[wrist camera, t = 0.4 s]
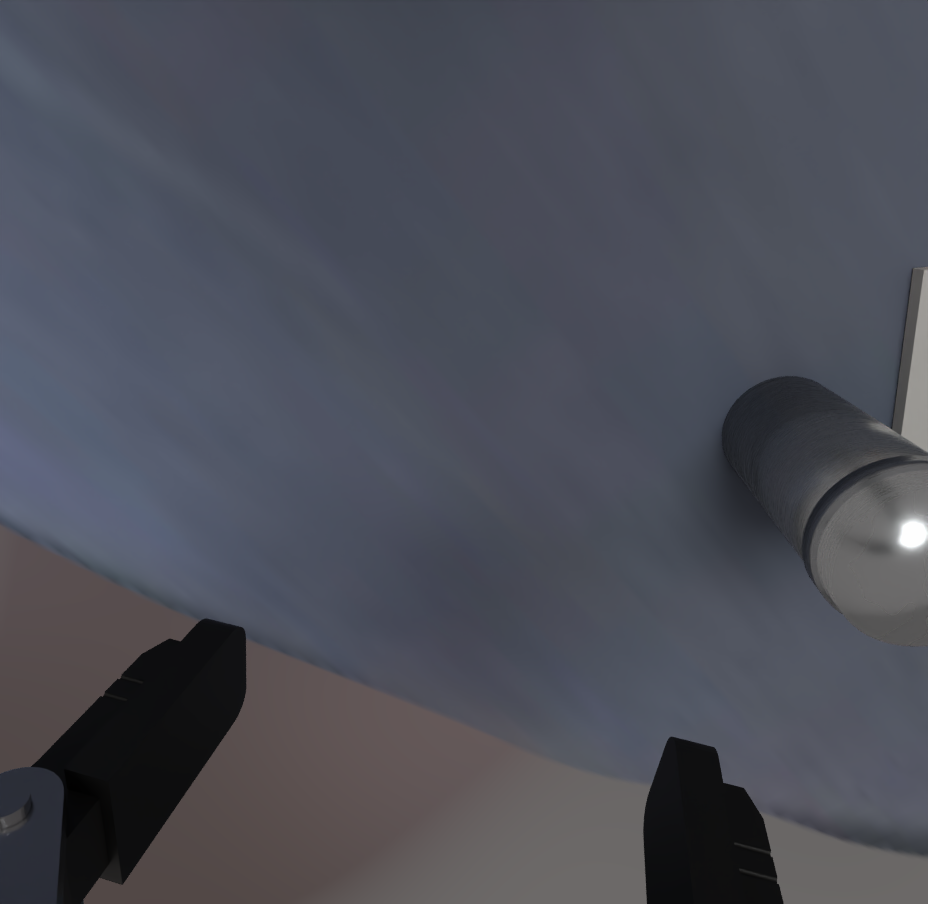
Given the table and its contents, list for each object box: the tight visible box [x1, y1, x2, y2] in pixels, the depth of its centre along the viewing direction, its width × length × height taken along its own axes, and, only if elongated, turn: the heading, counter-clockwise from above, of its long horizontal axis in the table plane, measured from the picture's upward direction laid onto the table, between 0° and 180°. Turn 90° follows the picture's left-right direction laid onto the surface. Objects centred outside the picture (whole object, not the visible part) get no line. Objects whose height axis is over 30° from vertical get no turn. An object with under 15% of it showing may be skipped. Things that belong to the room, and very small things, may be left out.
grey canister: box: [722, 376, 928, 646], centre depth 24 cm, size 6×6×12 cm
